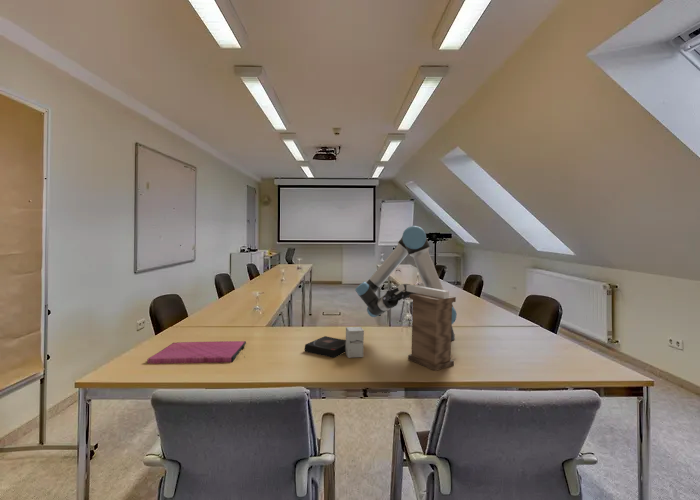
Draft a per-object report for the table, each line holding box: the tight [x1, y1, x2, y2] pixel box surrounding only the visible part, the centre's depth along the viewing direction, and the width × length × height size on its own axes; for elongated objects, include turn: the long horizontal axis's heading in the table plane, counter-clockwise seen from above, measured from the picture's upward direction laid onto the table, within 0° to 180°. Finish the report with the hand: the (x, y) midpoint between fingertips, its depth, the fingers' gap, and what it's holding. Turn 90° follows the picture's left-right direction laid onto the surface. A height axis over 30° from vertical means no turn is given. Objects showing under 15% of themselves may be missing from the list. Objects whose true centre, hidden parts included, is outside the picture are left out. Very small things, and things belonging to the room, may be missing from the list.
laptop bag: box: [147, 340, 247, 364], centre depth 165 cm, size 40×4×27 cm
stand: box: [407, 293, 457, 372], centre depth 157 cm, size 12×16×30 cm
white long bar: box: [402, 283, 450, 299], centre depth 160 cm, size 3×26×3 cm, turn 34°
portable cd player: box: [304, 335, 346, 359], centre depth 172 cm, size 16×17×4 cm
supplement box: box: [345, 326, 365, 358], centre depth 165 cm, size 7×7×13 cm
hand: (414, 285), depth 165 cm, fingers open, 13 cm apart
